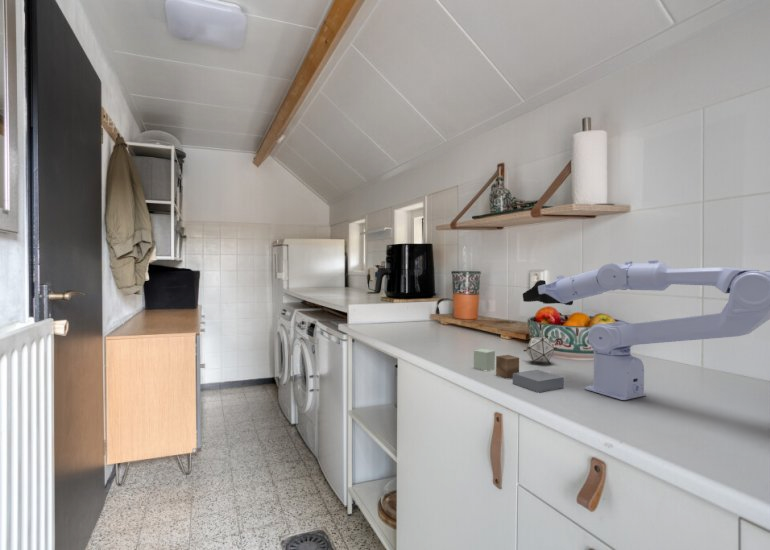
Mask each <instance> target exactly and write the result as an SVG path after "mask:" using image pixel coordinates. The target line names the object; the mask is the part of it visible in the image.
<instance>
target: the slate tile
mask: <svg viewBox="0 0 770 550" xmlns="http://www.w3.org/2000/svg"><path fill="white" fill-rule="evenodd" d="M564 379H565V377H564V376H560V375H557V374H553V373H551V372H546V371H543V370H540V369H533V370H525V371H519V372H518V373H513V378H512V384H513V385H515V384H516V385H515V386H518V385H519V387H521V386H522V388H524V387H525V389H527V388H528V389H527V390H530V389H531V390H530V391H533V390H534V391H533V392H536V391H537V393H538V392H539V393H542V392H541V391H544V392H549V391H548V390H550V391H555V390H559V388H561V389H564V386H565V385H564V382H565V381H564Z"/></svg>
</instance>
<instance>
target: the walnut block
mask: <svg viewBox="0 0 770 550" xmlns="http://www.w3.org/2000/svg"><path fill="white" fill-rule="evenodd" d="M518 372H520V357H518V356H514V355H511V354H503V355H495V376H497V375H498V377H500V376H501V377H500V378H503V377H504V378H503V379H506V378H510V379H513V373H518Z"/></svg>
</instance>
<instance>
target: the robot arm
mask: <svg viewBox="0 0 770 550" xmlns="http://www.w3.org/2000/svg"><path fill="white" fill-rule="evenodd" d="M671 285H680V286H681V285H686V286H688V285H689V286H710V287H711V286H712V287H715V288H716V289H718V290H719V291H720V292H722V293H723V294H729V295H728V300H727V303H726V304H725V306H724V307H723V308H722V311H720V312H719V313H711V314H703V315H702V314H701V315H694V316H687V317H686V316H685V317H678V318H677V317H676V318H669V319H660V320H654V321H653V320H652V321H645V322H637V323H636V322H635V323H634V322H633V323H631V322H627V321H625V320H624V321H623V320H616V321H615V322H605V323H595V324H594V325H592V326H591V327H590V328H589V330H588V333H587V340H588V344H589V345H590V347H591V348H592V349H593V384H592V385H587V386H585V387H584V390H587V391H590V392H592V393H593V392H594V393H597V394H601V395H603V396H607V397H611V398H614V399H618V400H621V401H627V400H632V399H636V398H640V397H644V396H647V394H646V392H644V391H645V389H644V388H645V386H644V385H645V366H644V362H643V361H642V359H641V358H639V357H636V356H633V355H632V354H631V347H633V346H637V345H649V344H659V343H662V344H663V343H672V342H674V343H675V342H686V341H687V342H688V341H696V340H697V341H698V340H699V341H701V340H711V339H712V340H713V339H721V338H734V337H741V336H745V335H749V334H750V333H753V332H754V331H755V330H757V329H758V328H760V327H761V326H762V325H764V324H766V322H768V321H769V320H770V270H766V271H761V270H760V269H753V268H742V267H731V266H726V267H725V266H720V267H718V266H716V267H713V266H712V267H696V268H695V267H694V268H693V267H691V268H689V267H688V268H687V267H686V268H671V267H670V266H669V265H667V264H666V263H665V262H659V260H658V259H649V260H648V262H636V263H635V262H633V261H632V260H631V261H625V262H624V263H614V262H610V263H608V264H604V265H602V266H601V267H600V268H598V269H593V270H590V271H585V272H582V273H578V274H576V275H573V276H571V275H570V276H569V277H565V276H564V275H561V274H558V275H556V279H555V280H554V281H551V282H549V283H547V282H546V280H544V279H543V280H542V279H539V280H537V281H536V282H535V284H534V285H533V286H532V287H531V288H530V289H528V290H526V291H525V292H523V293H522V300H523V302H524V303H525V302H526V303H527V302H528V303H530V302H531V303H532V302H540V303H542V304H546V305H549V304H561V305H566V306H573V305H574V301H576V300H582V299H585V298H589V297H593V296H598V295H602V294H604V293H607V292H610V291H612V292H613V291H617V290H620V291H626V290H631V291H659V292H660V291H665V290H667V289H668V288H669V287H670V286H671Z"/></svg>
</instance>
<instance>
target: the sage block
mask: <svg viewBox="0 0 770 550" xmlns="http://www.w3.org/2000/svg"><path fill="white" fill-rule="evenodd" d="M495 353H496V351H495V350H494V349H493V350H492V349H488V348H487V349H486V348H479V349H475V350H473V369H474V368H477V369H476V370H479V369H482V370H481V371H483V370H488V371H491V370H490V369H492V370H495V369H496V355H495ZM494 368H495V369H494Z"/></svg>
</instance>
